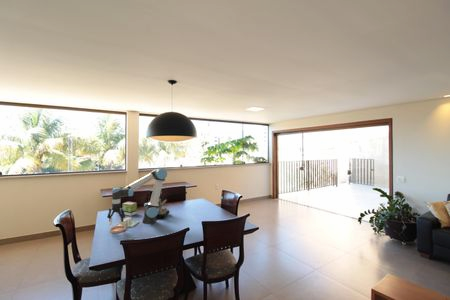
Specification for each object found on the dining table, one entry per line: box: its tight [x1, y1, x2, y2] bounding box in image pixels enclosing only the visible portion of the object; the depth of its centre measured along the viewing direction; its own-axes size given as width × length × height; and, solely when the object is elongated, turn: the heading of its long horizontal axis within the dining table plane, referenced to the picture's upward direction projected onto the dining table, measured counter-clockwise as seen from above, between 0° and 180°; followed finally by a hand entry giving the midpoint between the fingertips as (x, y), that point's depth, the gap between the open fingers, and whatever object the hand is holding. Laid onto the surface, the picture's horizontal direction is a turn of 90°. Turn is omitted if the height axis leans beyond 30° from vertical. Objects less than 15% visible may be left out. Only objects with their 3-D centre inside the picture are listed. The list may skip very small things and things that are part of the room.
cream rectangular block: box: [124, 217, 132, 224], centre depth 236 cm, size 4×4×6 cm
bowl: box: [109, 226, 127, 234], centre depth 216 cm, size 15×15×2 cm
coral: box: [155, 198, 170, 219], centre depth 264 cm, size 25×20×22 cm
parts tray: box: [112, 220, 140, 228], centre depth 232 cm, size 21×16×2 cm
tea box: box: [121, 201, 138, 217], centre depth 272 cm, size 15×10×15 cm, turn 66°
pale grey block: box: [122, 218, 128, 226], centre depth 229 cm, size 4×4×6 cm
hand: (116, 224), depth 213 cm, fingers open, 10 cm apart
